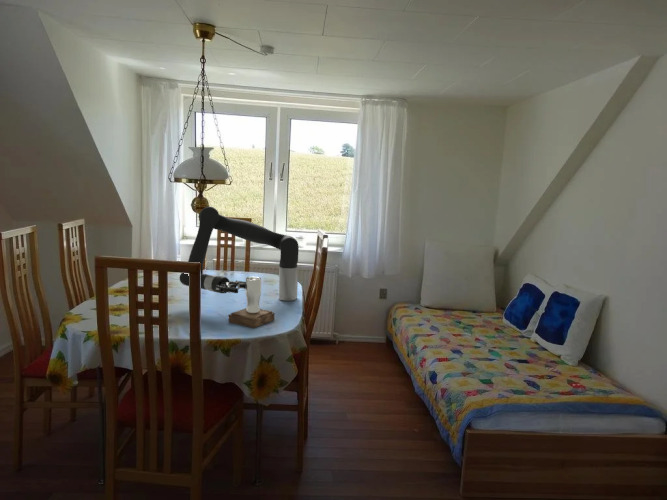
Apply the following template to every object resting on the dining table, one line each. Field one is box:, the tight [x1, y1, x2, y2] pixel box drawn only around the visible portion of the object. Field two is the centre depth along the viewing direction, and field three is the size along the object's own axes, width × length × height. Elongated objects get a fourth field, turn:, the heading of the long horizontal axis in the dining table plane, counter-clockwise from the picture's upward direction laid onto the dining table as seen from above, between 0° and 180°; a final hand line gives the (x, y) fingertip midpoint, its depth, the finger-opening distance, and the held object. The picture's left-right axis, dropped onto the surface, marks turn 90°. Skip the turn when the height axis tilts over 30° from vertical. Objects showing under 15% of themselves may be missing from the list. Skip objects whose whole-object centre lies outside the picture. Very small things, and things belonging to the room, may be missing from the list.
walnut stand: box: [228, 307, 275, 329], centre depth 195 cm, size 14×14×4 cm
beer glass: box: [244, 276, 262, 314], centre depth 195 cm, size 7×7×15 cm
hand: (244, 289), depth 196 cm, fingers open, 8 cm apart
